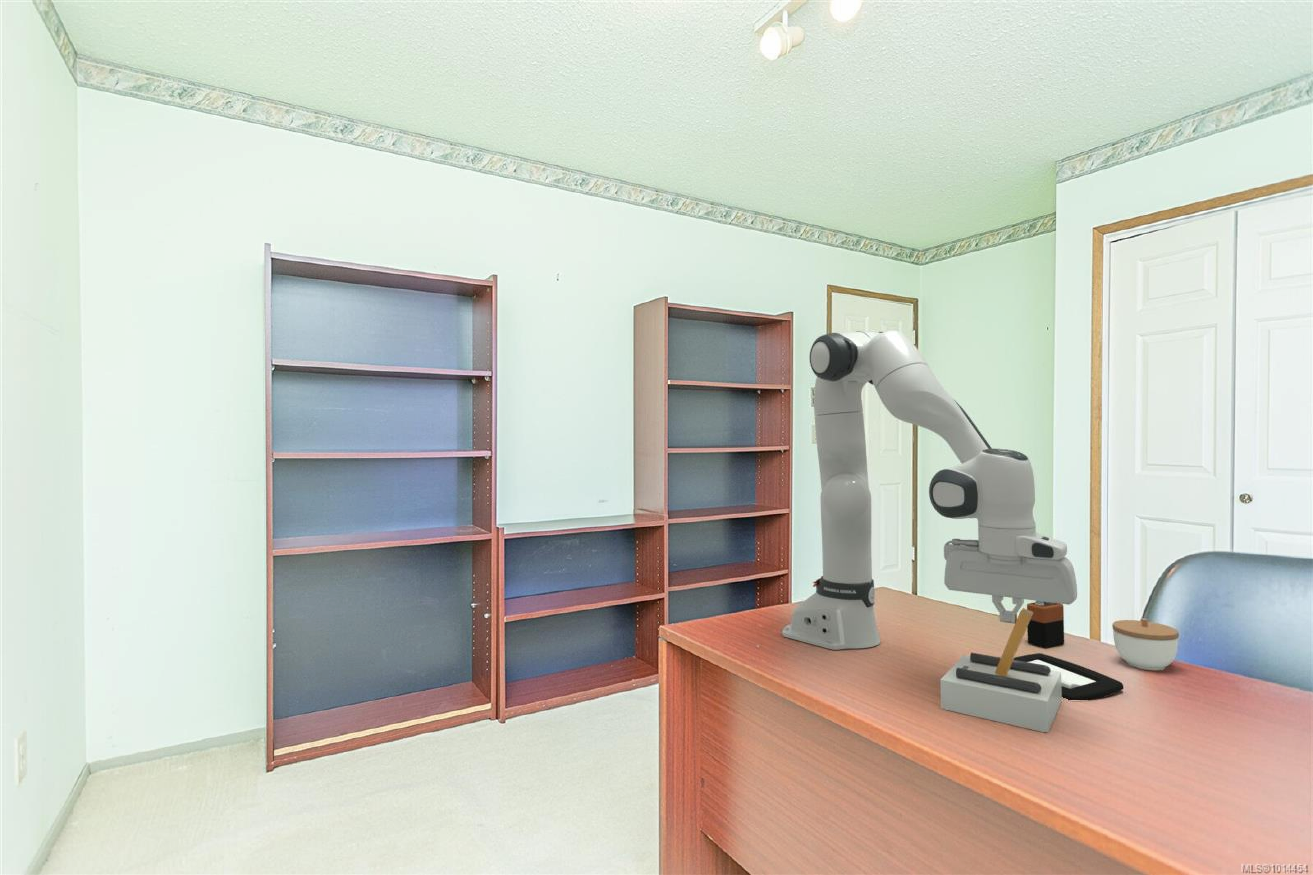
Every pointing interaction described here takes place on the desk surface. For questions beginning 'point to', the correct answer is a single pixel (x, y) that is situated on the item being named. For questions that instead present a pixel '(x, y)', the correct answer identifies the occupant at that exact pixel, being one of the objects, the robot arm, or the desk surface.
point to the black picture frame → (1076, 678)
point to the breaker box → (1003, 691)
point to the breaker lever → (1014, 642)
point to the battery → (1046, 624)
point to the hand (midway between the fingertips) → (1008, 622)
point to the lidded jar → (1145, 643)
